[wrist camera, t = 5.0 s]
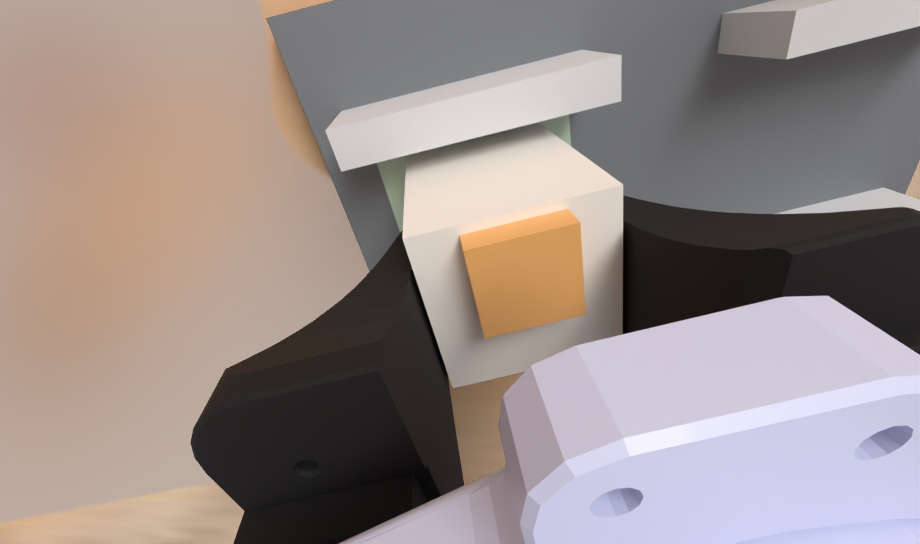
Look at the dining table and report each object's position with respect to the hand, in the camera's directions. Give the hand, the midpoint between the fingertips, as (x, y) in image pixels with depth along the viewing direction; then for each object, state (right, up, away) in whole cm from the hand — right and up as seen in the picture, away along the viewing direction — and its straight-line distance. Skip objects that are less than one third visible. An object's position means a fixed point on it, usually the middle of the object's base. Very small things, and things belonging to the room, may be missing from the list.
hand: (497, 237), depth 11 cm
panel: (+5, +3, +3) cm, 6 cm away
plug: (0, +1, +1) cm, 2 cm away
